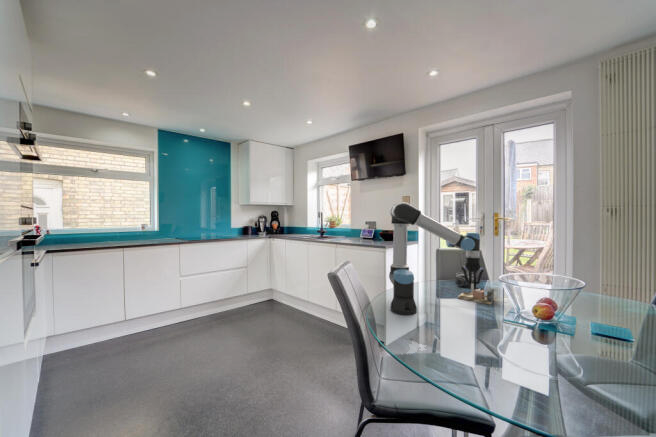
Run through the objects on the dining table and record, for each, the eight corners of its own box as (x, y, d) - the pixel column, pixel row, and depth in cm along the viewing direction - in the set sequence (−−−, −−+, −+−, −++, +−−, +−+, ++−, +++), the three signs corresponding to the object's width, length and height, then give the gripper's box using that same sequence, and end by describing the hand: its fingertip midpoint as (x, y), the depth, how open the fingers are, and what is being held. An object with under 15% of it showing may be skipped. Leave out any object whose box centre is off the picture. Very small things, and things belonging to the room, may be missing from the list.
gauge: (472, 297, 163) (472, 290, 163) (475, 295, 169) (475, 288, 169) (482, 299, 160) (482, 291, 160) (484, 296, 166) (484, 289, 166)
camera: (449, 284, 201) (449, 271, 201) (459, 283, 205) (459, 270, 205) (467, 290, 186) (467, 276, 186) (477, 288, 190) (477, 274, 190)
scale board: (457, 298, 167) (457, 287, 167) (462, 294, 176) (462, 283, 176) (490, 304, 156) (490, 292, 155) (493, 300, 164) (493, 288, 164)
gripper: (460, 256, 168) (459, 293, 168) (483, 258, 159) (483, 297, 160) (463, 255, 173) (463, 291, 174) (485, 257, 165) (485, 294, 165)
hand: (472, 294), depth 167 cm, fingers closed
